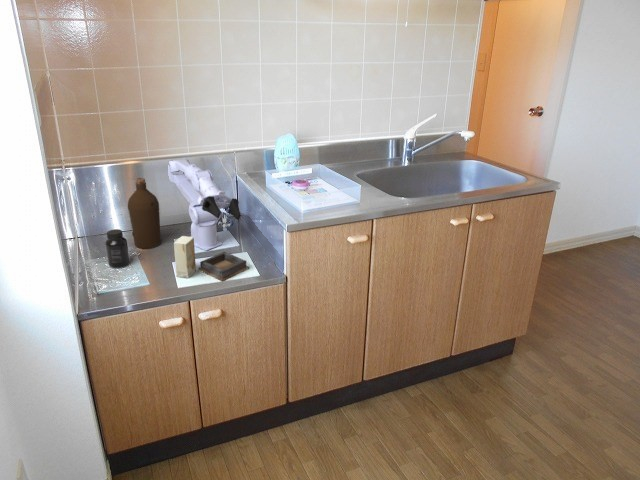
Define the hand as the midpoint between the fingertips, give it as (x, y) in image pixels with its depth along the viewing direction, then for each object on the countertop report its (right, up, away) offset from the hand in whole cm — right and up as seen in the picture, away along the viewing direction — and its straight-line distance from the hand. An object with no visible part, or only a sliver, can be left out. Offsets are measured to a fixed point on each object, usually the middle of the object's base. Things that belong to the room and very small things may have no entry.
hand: (229, 216), depth 162 cm
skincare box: (-15, -19, +3) cm, 24 cm away
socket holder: (-3, -18, +6) cm, 19 cm away
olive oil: (-34, -9, +22) cm, 42 cm away
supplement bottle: (-39, -16, +7) cm, 43 cm away
